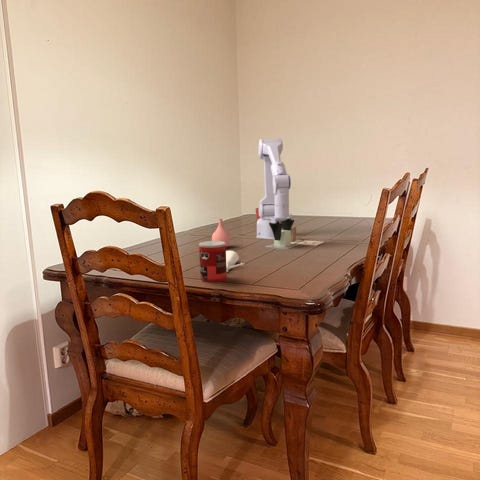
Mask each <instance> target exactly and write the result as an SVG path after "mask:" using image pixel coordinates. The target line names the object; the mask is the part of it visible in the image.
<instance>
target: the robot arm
mask: <svg viewBox="0 0 480 480" xmlns="http://www.w3.org/2000/svg"><path fill="white" fill-rule="evenodd" d="M283 147H284V144H283V140H282V139H281V138H259V140H258V158H259V159H260V160H262V162H263V178H264V179H263V180H264V196H263V198H261V199H260V200H259V202H258V208H259V216H260V217H261V218H259V219H258V221H257V220H256V237H255V238H256V239H267V240H274V239H275V240H278V241H279V240H280V238H281V230H282V228H283V230H290V231H291V227H292V226H293V225H294V222H295V220H294V219H293V214H292V213H290V204H289V203H290V189H291V185H292V183H291V181H292V180H291V176H290V174H289V173H287V170H286V166H285V164H284V162H283V161H281V160H282V159H281V154H282V153H283Z"/></svg>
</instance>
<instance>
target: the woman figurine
mask: <svg viewBox="0 0 480 480" xmlns="http://www.w3.org/2000/svg"><path fill="white" fill-rule="evenodd" d="M239 258H240V256H239V254H238V253H237V252H236V251H234V250H226V270H227V273H229V270H231V269H232V268H236V267H240V266H244V265H245V262H240V263H238V264H236V263H237V262H239Z"/></svg>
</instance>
